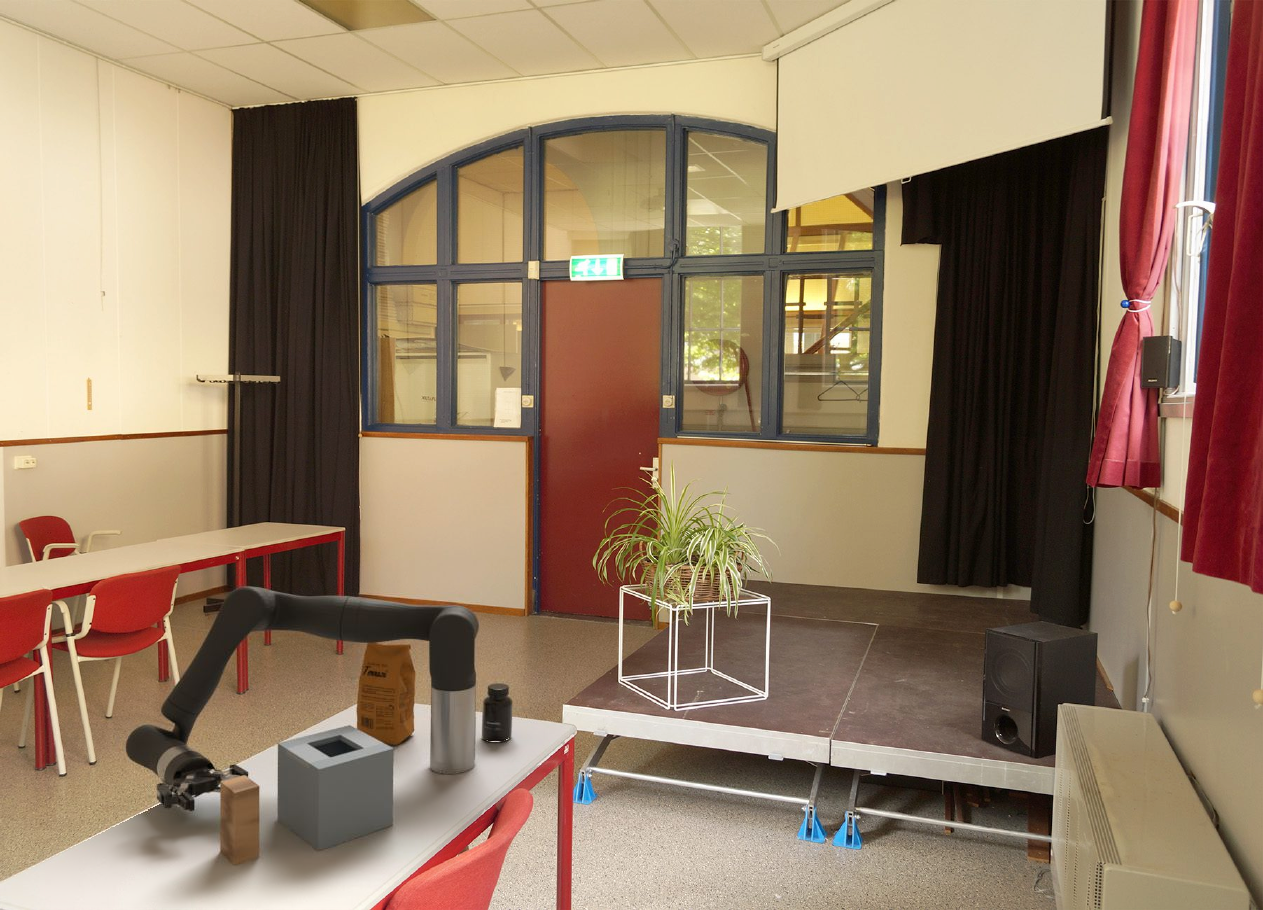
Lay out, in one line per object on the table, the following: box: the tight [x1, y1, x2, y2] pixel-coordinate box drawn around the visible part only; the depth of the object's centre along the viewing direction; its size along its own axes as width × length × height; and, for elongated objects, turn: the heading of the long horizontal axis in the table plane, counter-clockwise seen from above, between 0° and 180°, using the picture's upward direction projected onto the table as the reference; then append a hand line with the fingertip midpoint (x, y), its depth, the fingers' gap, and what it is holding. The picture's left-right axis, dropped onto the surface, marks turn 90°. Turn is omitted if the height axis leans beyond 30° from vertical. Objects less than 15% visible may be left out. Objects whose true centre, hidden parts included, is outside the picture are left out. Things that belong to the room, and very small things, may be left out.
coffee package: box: [356, 642, 416, 746], centre depth 203 cm, size 10×12×22 cm
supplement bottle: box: [481, 682, 514, 742], centre depth 204 cm, size 7×7×12 cm
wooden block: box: [219, 775, 260, 866], centre depth 148 cm, size 6×4×12 cm, turn 45°
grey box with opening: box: [276, 724, 395, 852], centre depth 160 cm, size 16×14×14 cm
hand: (218, 798), depth 155 cm, fingers open, 8 cm apart
